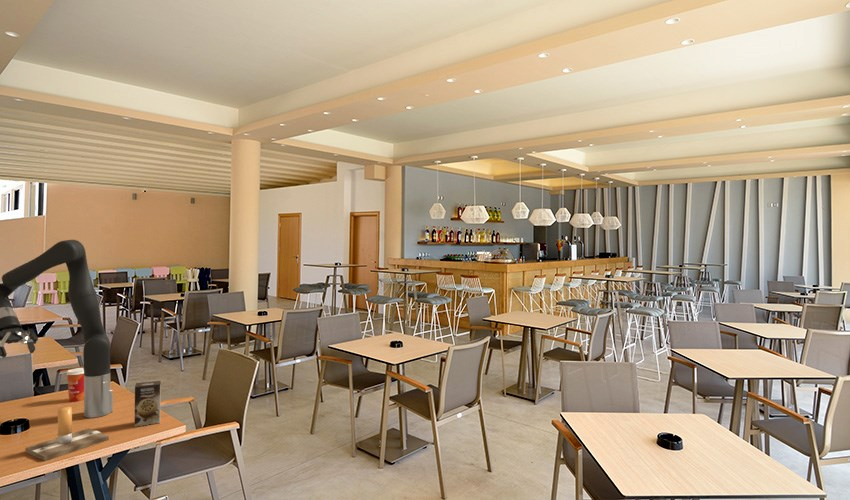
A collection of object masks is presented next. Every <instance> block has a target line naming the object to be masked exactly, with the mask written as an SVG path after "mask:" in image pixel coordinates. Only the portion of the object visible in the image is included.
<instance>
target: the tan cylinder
mask: <svg viewBox="0 0 850 500" xmlns="http://www.w3.org/2000/svg"><path fill="white" fill-rule="evenodd" d="M72 433H73V407H72V406H64V407H60V408H58V409H57V438H58V444H66V443H69V442H71V441H72Z"/></svg>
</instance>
